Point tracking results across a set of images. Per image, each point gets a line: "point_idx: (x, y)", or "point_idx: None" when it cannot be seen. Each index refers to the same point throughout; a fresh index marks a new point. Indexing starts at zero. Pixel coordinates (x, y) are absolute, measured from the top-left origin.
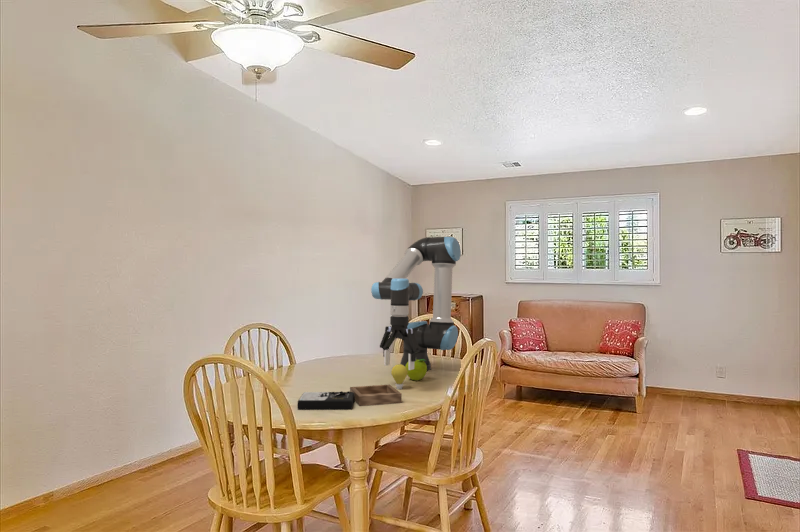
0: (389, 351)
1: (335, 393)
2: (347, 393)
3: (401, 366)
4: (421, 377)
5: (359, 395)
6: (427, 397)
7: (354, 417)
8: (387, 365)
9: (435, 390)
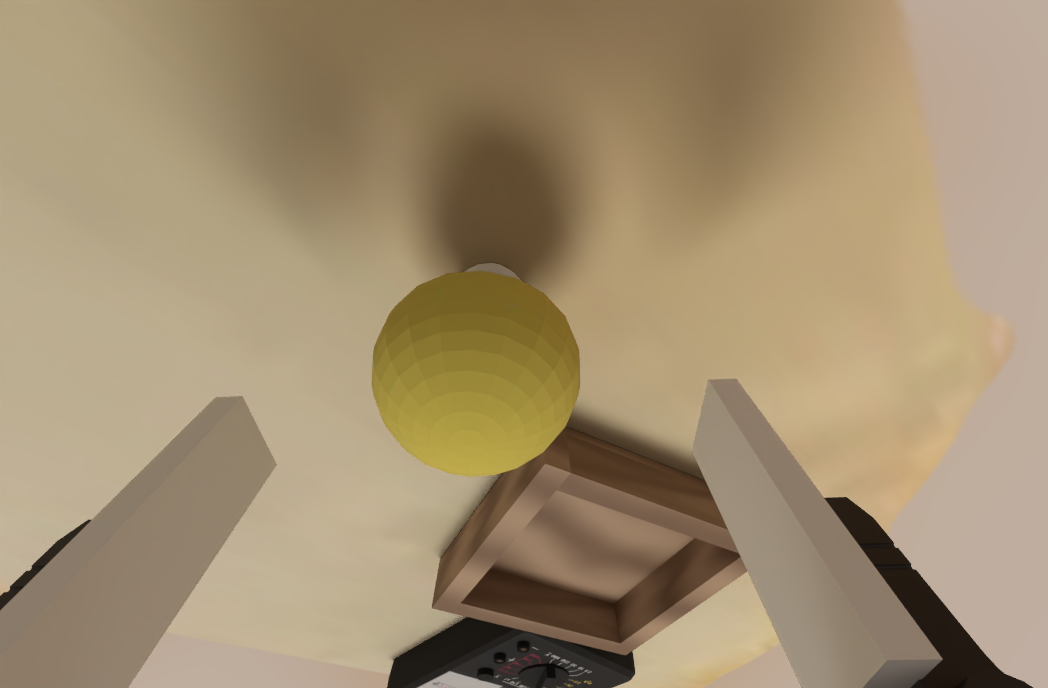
0: (45, 631)
1: (493, 667)
2: (531, 649)
3: (531, 443)
4: None
5: (611, 648)
6: (853, 333)
7: (704, 661)
8: (260, 435)
9: (827, 73)
